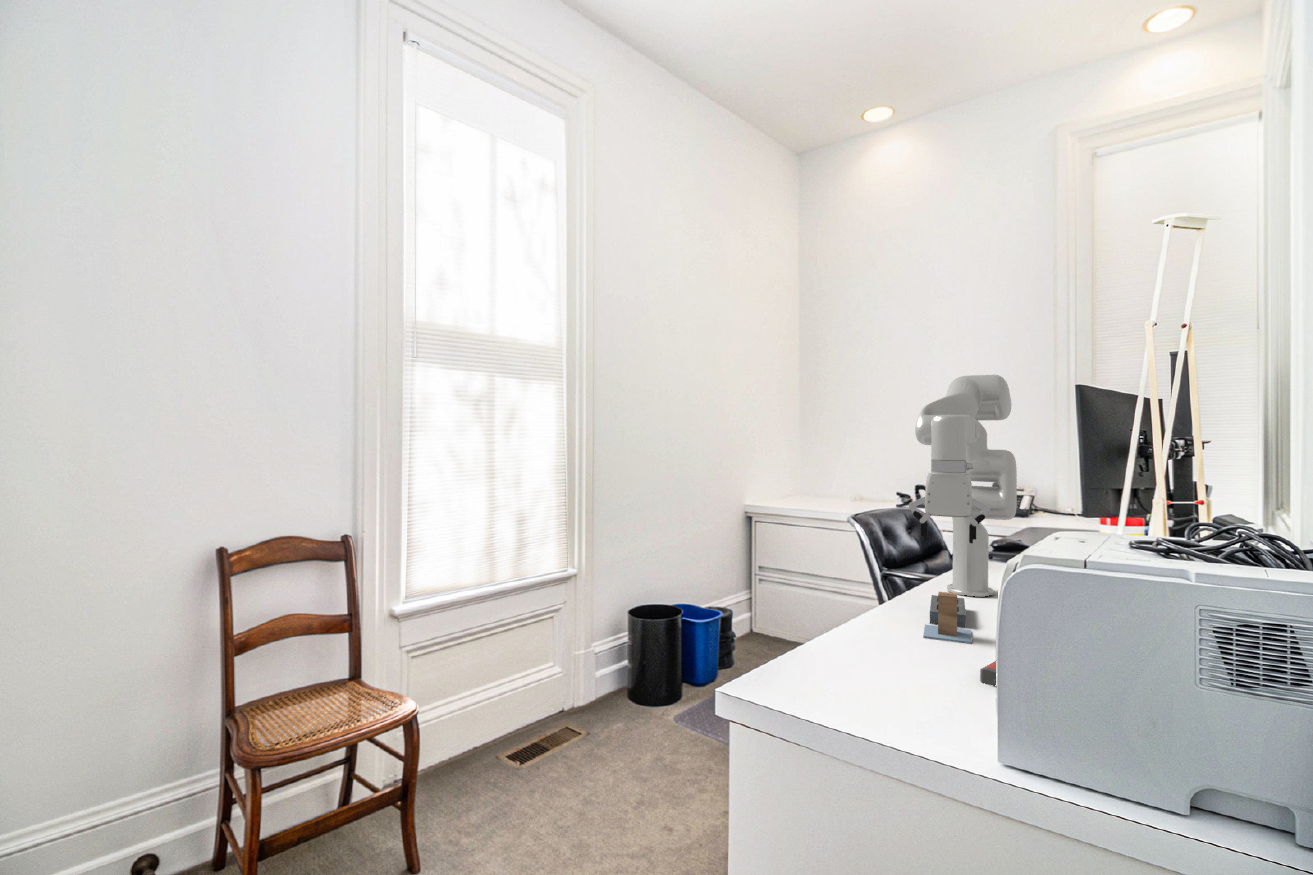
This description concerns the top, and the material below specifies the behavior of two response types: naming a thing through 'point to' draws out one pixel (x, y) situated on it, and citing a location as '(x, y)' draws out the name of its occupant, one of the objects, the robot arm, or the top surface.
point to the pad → (962, 635)
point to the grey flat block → (960, 611)
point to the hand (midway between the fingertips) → (948, 541)
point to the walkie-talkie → (988, 674)
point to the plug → (947, 613)
